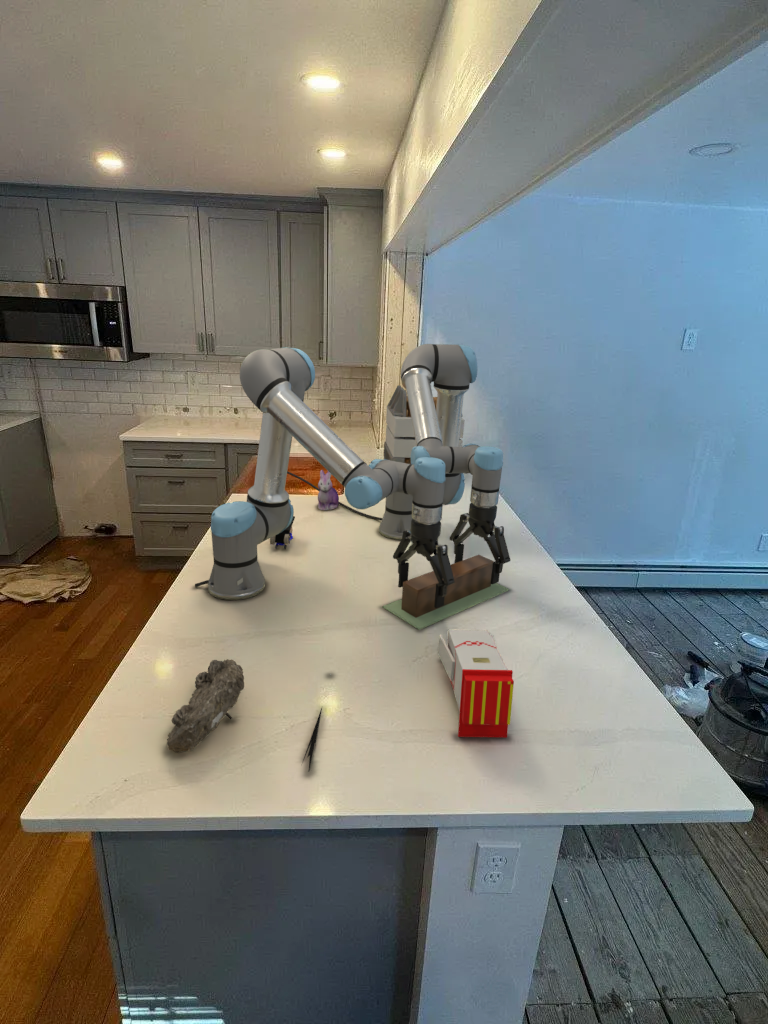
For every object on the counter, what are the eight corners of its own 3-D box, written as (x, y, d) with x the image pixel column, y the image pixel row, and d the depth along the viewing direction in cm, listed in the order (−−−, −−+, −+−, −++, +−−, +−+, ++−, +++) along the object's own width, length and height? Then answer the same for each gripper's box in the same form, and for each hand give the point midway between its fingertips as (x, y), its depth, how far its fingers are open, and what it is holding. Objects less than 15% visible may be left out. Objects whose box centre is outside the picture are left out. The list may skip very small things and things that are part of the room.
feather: (331, 679, 122) (336, 673, 122) (307, 777, 96) (313, 769, 95) (324, 675, 122) (329, 669, 121) (298, 772, 95) (304, 764, 95)
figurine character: (290, 555, 182) (296, 533, 195) (289, 535, 178) (295, 513, 192) (269, 555, 181) (276, 532, 195) (268, 534, 178) (275, 513, 191)
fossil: (192, 660, 117) (244, 628, 112) (224, 691, 120) (276, 661, 115) (142, 746, 98) (202, 712, 93) (182, 779, 101) (242, 748, 96)
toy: (488, 613, 130) (523, 677, 101) (484, 667, 133) (517, 744, 104) (435, 612, 130) (455, 676, 101) (432, 666, 133) (451, 743, 103)
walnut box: (415, 617, 145) (417, 590, 143) (401, 609, 149) (402, 581, 146) (490, 586, 164) (493, 561, 161) (476, 579, 168) (478, 554, 165)
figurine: (321, 512, 217) (321, 474, 212) (311, 504, 225) (311, 467, 220) (344, 509, 221) (344, 472, 216) (333, 501, 229) (334, 465, 224)
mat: (382, 607, 150) (382, 606, 150) (472, 572, 173) (472, 571, 173) (419, 630, 140) (419, 628, 140) (509, 590, 163) (509, 588, 163)
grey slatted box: (382, 463, 289) (386, 382, 275) (445, 464, 293) (451, 384, 279) (390, 482, 257) (394, 392, 243) (460, 483, 261) (468, 394, 247)
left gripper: (382, 508, 148) (378, 581, 155) (452, 539, 130) (445, 620, 137) (403, 503, 152) (399, 574, 159) (474, 532, 135) (465, 610, 142)
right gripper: (441, 494, 161) (435, 561, 169) (512, 520, 144) (502, 594, 151) (459, 489, 166) (452, 555, 173) (529, 514, 148) (519, 586, 156)
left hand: (420, 595), depth 148 cm, fingers open, 13 cm apart
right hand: (475, 573), depth 162 cm, fingers open, 13 cm apart
